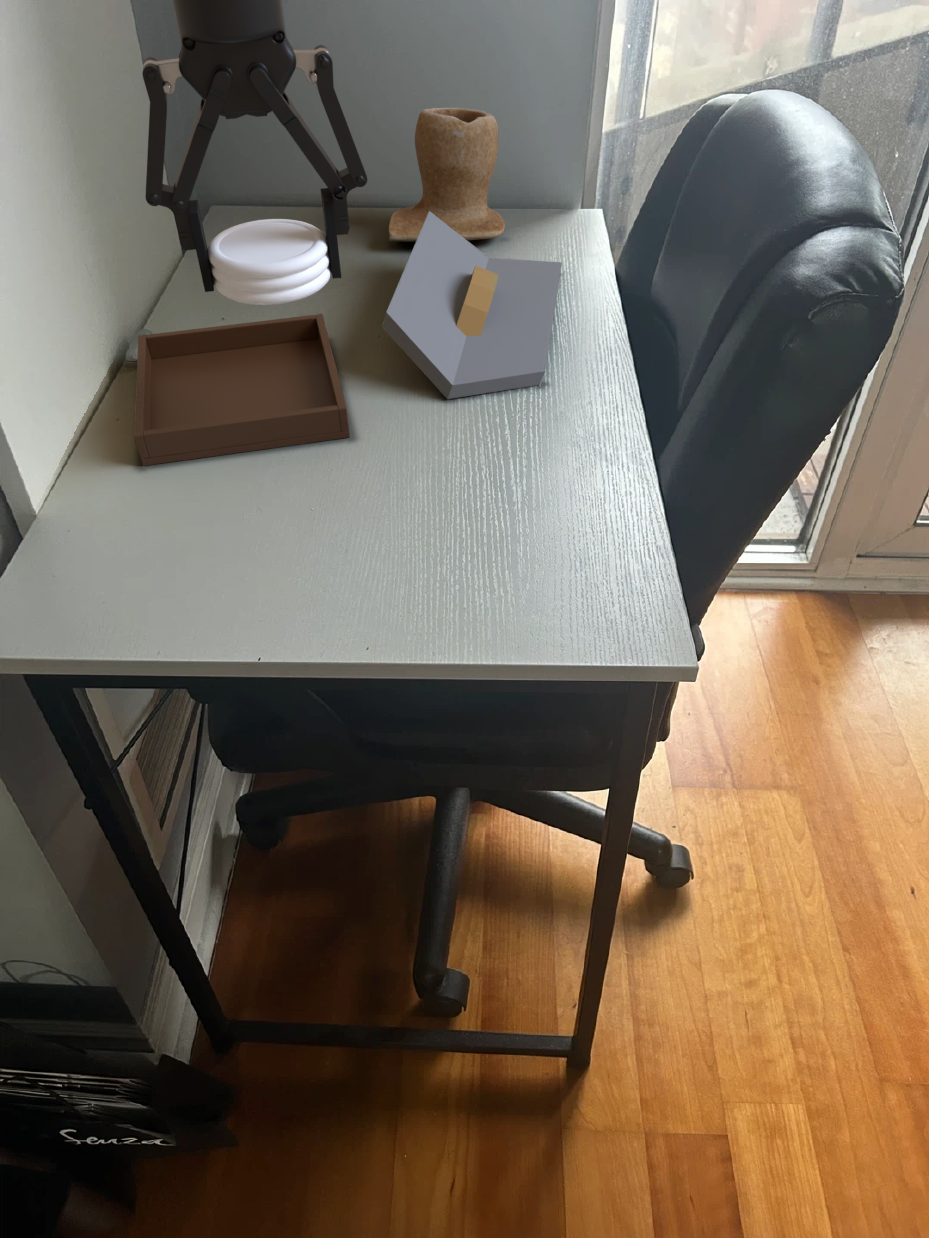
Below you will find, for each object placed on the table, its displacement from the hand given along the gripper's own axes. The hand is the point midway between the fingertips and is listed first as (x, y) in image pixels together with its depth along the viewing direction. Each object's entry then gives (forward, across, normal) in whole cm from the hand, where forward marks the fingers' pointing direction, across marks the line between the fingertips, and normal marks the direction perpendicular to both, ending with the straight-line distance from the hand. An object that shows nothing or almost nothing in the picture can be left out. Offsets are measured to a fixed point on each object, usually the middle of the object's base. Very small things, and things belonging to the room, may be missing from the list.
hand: (273, 278), depth 81 cm
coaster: (0, 0, 0) cm, 0 cm away
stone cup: (+16, -23, -43) cm, 52 cm away
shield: (+16, -22, -16) cm, 32 cm away
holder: (+16, +5, -8) cm, 18 cm away
